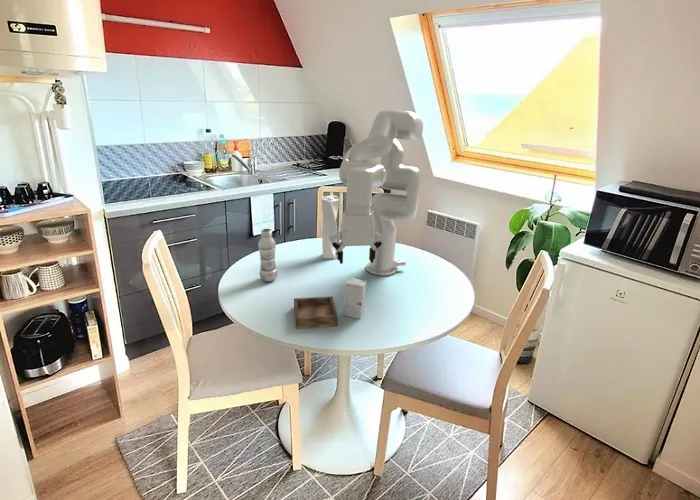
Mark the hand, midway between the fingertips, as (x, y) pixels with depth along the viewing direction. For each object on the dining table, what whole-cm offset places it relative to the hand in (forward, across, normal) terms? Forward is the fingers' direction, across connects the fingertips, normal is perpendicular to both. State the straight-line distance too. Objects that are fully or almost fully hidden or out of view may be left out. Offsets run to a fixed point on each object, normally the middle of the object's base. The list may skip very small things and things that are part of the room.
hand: (356, 261), depth 137 cm
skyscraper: (+19, +2, -49) cm, 52 cm away
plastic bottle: (+19, +28, -29) cm, 44 cm away
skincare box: (+20, 0, -1) cm, 20 cm away
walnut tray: (+19, +13, -1) cm, 23 cm away
